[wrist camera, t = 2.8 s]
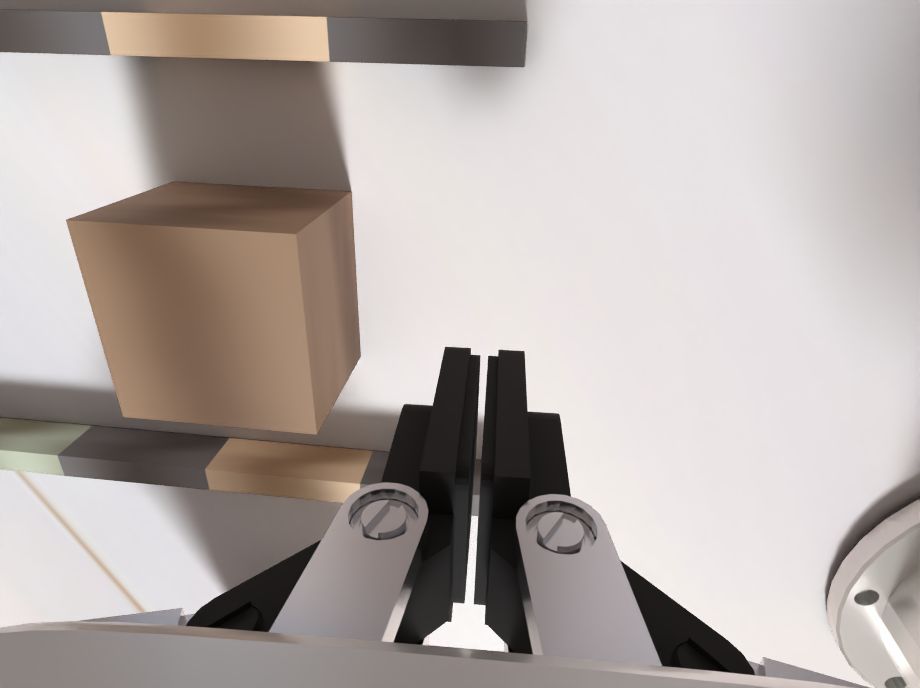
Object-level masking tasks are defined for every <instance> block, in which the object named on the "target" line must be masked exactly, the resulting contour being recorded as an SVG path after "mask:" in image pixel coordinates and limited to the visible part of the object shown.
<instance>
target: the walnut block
mask: <svg viewBox="0 0 920 688" xmlns="http://www.w3.org/2000/svg"><path fill="white" fill-rule="evenodd" d="M66 222H67V225H68V229H69V232H70V235H71V239H72V242H73V246H74V249H75V253H76V256H77V260H78V263H79V267H80V270H81V273H82V277H83V280H84V284H85V287H86V291H87V294H88V298H89V301H90V304H91V308H92V311H93V315H94V318H95V322H96V325H97V329H98V332H99V336H100V339H101V342H102V346H103V349H104V353H105V356H106V360H107V363H108V367H109V370H110V373H111V377H112V380H113V384H114V387H115V391H116V394H117V398H118V401H119V404H120V408H121V411H122V415H123V417H128V418H139V419H150V420H161V421H172V422H183V423H194V424H205V425H216V426H227V427H238V428H249V429H260V430H271V431H281V432H292V433H303V434H314V435H317V434H318V432H319V430H320V428H321V427H322V425H323V423H324V421H325V419H326V418H327V416H328V414H329V412H330V411H331V409H332V407H333V405H334V403H335V402H336V400H337V398H338V396H339V394H340V393H341V391H342V389H343V387H344V385H345V384H346V382H347V380H348V378H349V376H350V375H351V373H352V371H353V369H354V368H355V366H356V364H357V362H358V360H359V359H360V357H361V352H360V334H359V317H358V299H357V281H356V263H355V245H354V227H353V209H352V192H351V191H333V190H315V189H297V188H279V187H261V186H242V185H224V184H206V183H188V182H171V183H168V184H165V185H163V186H160V187H157V188H154V189H151V190H149V191H146V192H143V193H140V194H137V195H135V196H132V197H129V198H126V199H123V200H121V201H118V202H115V203H112V204H109V205H107V206H104V207H101V208H98V209H96V210H93V211H90V212H87V213H84V214H82V215H79V216H76V217H73V218H70V219H68V220H66Z"/></svg>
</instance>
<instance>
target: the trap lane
mask: <svg viewBox="0 0 920 688" xmlns="http://www.w3.org/2000/svg"><path fill="white" fill-rule="evenodd" d="M526 40H527V21H486V20H441V19H396V18H352V17H307V16H262V15H218V14H173V13H128V12H83V11H39V10H0V52H20V53H54V54H88V55H122V56H156V57H190V58H224V59H259V60H293V61H327V62H361V63H395V64H429V65H464V66H498V67H524V66H525V54H526ZM389 453H390V452H382V451H370V450H359V449H348V448H337V447H326V446H314V445H303V444H292V443H281V442H269V441H258V440H247V439H236V438H224V437H213V436H202V435H191V434H179V433H168V432H157V431H146V430H135V429H123V428H112V427H101V426H90V425H78V424H67V423H56V422H45V421H33V420H22V419H11V418H0V469H1V470H11V471H22V472H32V473H42V474H52V475H63V476H73V477H83V478H93V479H104V480H114V481H124V482H134V483H145V484H155V485H165V486H175V487H186V488H196V489H206V490H216V491H227V492H237V493H247V494H257V495H268V496H278V497H288V498H298V499H309V500H319V501H329V502H340V503H344V502H345V501H346V499H347V498H348V497H349V496H350V495H351V494H353V493H354V492H356V491H357V490H359V489H361V488H363V487H366V486H369V485H371V484H377V483H381V480H382V477H383V473H384V470H385V466H386V463H387V460H388V456H389ZM481 462H482V460H476V461H475V476H474V489H473V501H472V514H471V515H473V516H479V497H480V478H481Z"/></svg>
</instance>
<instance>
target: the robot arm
mask: <svg viewBox="0 0 920 688" xmlns="http://www.w3.org/2000/svg"><path fill="white" fill-rule="evenodd" d="M479 375H480V355H471V348H456V347H445V350H444V355H443V360H442V364H441V369H440V374H439V379H438V384H437V388H436V393H435V398H434V403H433V406H427V405H411V404H405V405H404V406H403V408H402V411H401V415H400V418H399V422H398V425H397V429H396V432H395V435H394V439H393V442H392V446H391V449H390V453H389V456H388V460H387V463H386V466H385V470H384V473H383V477H382V480H381V483H377V484H371V485H369V486H366V487H363V488H361V489H359V490H357V491H356V492H354V493H353V494H351V495H350V496H349V497H348V498H347V499H346V501H345V502H344V503H343V504H342V506H341V507H340V509H339V511H338V512H337V514H336V516H335V518H334V519H333V521H332V523H331V525H330V526H329V528H328V530H327V532H326V533H325V535H324V537H323V539H322V540H320V541H318V542H317V543H315V544H313V545H311V546H309V547H307V548H306V549H304V550H302V551H300V552H298V553H296V554H295V555H293V556H291V557H289V558H287V559H285V560H284V561H282V562H280V563H278V564H276V565H275V566H273V567H271V568H269V569H267V570H265V571H264V572H262V573H260V574H258V575H256V576H254V577H253V578H251V579H249V580H247V581H245V582H243V583H242V584H240V585H238V586H236V587H234V588H232V589H231V590H229V591H227V592H225V593H223V594H221V595H220V596H218V597H216V598H214V599H213V600H211V601H210V602H209V603H207V604H206V605H204V606H203V607H201V608H200V609H199V610H198V611H197V612H196V613H195V614H191V615H184V612H183V608H178V609H170V610H162V611H154V612H146V613H138V614H130V615H122V616H114V617H106V618H98V619H90V620H82V621H66V622H46V623H29V624H22V625H15V626H8V627H1V628H0V688H869V687H866V686H862V685H859V684H855V683H852V682H848V681H845V680H841V679H838V678H834V677H831V676H827V675H824V674H820V673H817V672H813V671H810V670H807V669H803V668H800V667H796V666H793V665H789V664H786V663H782V662H779V661H775V660H772V659H768V658H765V657H763V659H762V661H761V663H760V664H757V663H754V662H750V661H747V659H746V658H745V657H744V655H743V654H742V653H741V652H740V651H739V650H738V649H737V648H736V647H734V646H733V645H732V644H731V643H730V642H729V641H728V640H726V639H725V638H724V637H722V636H721V635H720V634H718V633H717V632H716V631H714V630H713V629H712V628H710V627H709V626H708V625H706V624H705V623H704V622H702V621H701V620H700V619H698V618H697V617H696V616H694V615H693V614H691V613H690V612H689V611H687V610H686V609H685V608H683V607H682V606H681V605H679V604H678V603H677V602H675V601H674V600H673V599H671V598H670V597H669V596H667V595H666V594H665V593H663V592H662V591H661V590H659V589H658V588H657V587H655V586H654V585H652V584H651V583H650V582H648V581H647V580H646V579H644V578H643V577H642V576H640V575H639V574H638V573H636V572H635V571H634V570H632V569H631V568H630V567H628V566H627V565H626V564H624V563H623V562H622V561H620V559H619V556H618V554H617V551H616V549H615V546H614V544H613V541H612V539H611V536H610V534H609V531H608V529H607V526H606V524H605V522H604V521H603V519H602V517H601V516H600V514H599V513H598V512H597V511H596V510H594V509H593V508H592V507H591V506H590V505H588V504H586V503H585V502H583V501H581V500H579V499H577V498H573V497H571V494H570V487H569V480H568V472H567V465H566V457H565V450H564V443H563V435H562V428H561V421H560V416H559V414H556V413H540V412H527V394H526V374H525V354H524V351H509V350H499V354H498V357H497V356H488V370H487V385H486V400H485V416H484V431H483V446H482V462H481V478H480V497H479V516H478V535H477V555H476V574H475V594H474V604H479V605H486V610H485V625H488V626H489V627H490V628H491V629H492V630H493V631H494V632H495V633H496V634H497V635H498V636H499V637H500V638H501V639H502V640H503V641H504V652H499V651H487V650H476V649H464V648H453V647H441V646H429V645H428V642H429V634H430V633H432V632H433V631H434V630H436V629H437V628H438V627H440V626H441V625H443V624H444V623H445V622H447V621H448V622H451V618H452V608H453V602H454V603H464V601H465V590H466V577H467V564H468V552H469V539H470V526H471V514H472V501H473V489H474V476H475V461H476V440H477V419H478V397H479ZM827 614H828V623H829V626H830V628H831V631H832V634H833V636H834V639H835V641H836V642H837V644H838V646H839V648H840V650H841V651H842V653H843V655H844V657H845V658H846V660H847V662H848V663H849V665H850V666H851V667H852V668H853V669H854V670H855V671H856V672H857V673H858V674H859V675H860V676H861V677H862V678H863V679H864V680H865V681H866V682H868V683H869V684H871V685H872V686H874V687H875V688H920V499H918V500H916V501H914V502H912V503H911V504H909V505H907V506H906V507H904V508H902V509H901V510H899V511H898V512H896V513H894V514H893V515H891V516H889V517H888V518H886V519H885V520H883V521H882V522H881V523H880V524H879V525H877V526H876V527H875V528H874V529H873V530H871V531H870V532H869V533H868V534H867V535H865V536H864V537H863V538H862V539H861V540H860V541H859V542H858V544H857V545H856V546H855V547H854V548H853V549H852V551H851V552H850V553H849V554H848V555H847V557H846V558H845V559H844V560H843V562H842V563H841V565H840V567H839V569H838V571H837V573H836V575H835V577H834V578H833V580H832V583H831V587H830V591H829V595H828V599H827Z"/></svg>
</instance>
